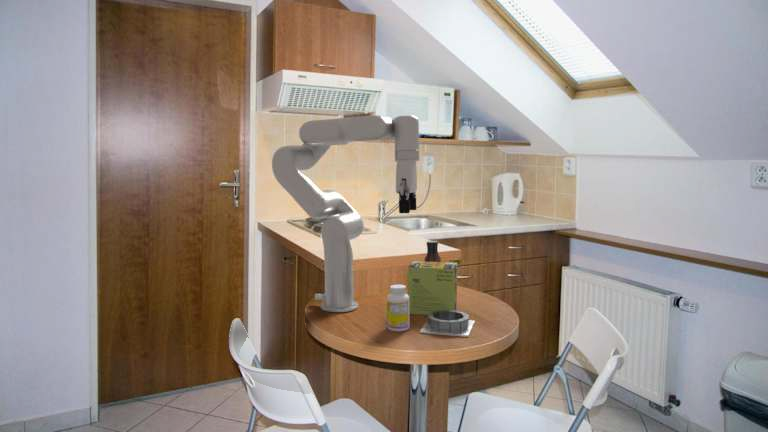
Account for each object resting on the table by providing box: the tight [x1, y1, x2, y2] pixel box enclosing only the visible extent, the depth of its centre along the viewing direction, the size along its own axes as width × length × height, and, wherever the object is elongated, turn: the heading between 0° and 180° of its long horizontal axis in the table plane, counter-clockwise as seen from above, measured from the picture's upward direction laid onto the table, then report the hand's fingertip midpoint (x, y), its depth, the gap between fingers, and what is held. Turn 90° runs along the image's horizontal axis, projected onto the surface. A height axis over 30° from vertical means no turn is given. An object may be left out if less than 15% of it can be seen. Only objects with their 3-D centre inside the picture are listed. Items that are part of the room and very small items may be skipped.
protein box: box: [407, 261, 458, 316], centre depth 179 cm, size 10×15×16 cm
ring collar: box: [419, 309, 476, 338], centre depth 162 cm, size 14×14×4 cm
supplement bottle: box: [386, 284, 411, 333], centre depth 161 cm, size 7×7×13 cm
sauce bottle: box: [424, 240, 442, 262], centre depth 199 cm, size 7×6×20 cm
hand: (407, 211), depth 171 cm, fingers open, 9 cm apart
